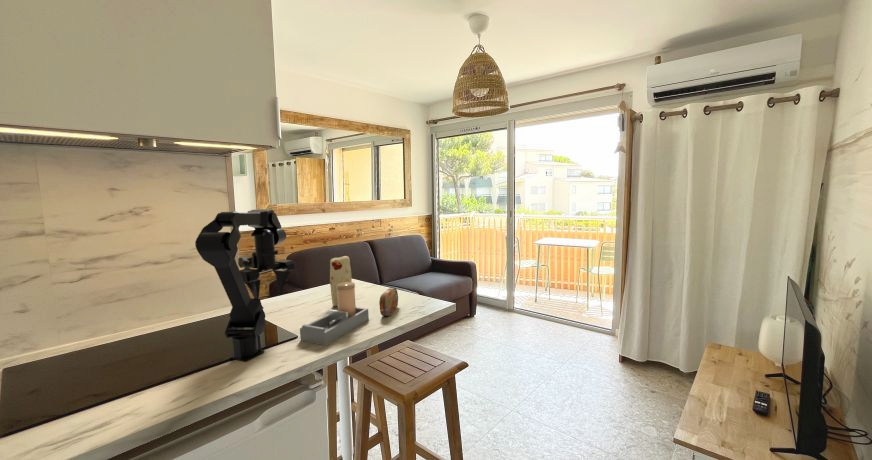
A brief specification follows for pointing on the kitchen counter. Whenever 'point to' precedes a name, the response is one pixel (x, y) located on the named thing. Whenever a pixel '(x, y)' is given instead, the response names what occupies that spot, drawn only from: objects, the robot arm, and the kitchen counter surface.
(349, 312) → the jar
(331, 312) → the pusher
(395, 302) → the brown flat rounded slab
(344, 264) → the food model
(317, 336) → the grey tray
